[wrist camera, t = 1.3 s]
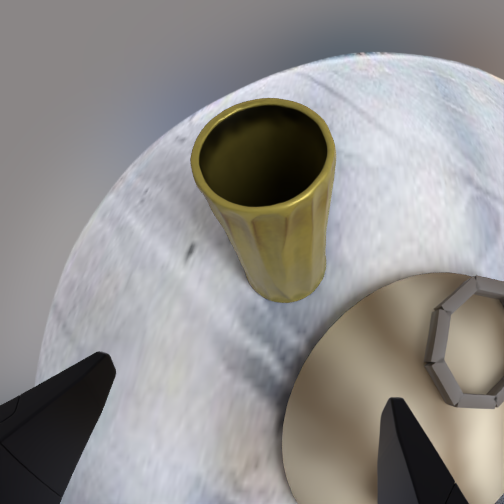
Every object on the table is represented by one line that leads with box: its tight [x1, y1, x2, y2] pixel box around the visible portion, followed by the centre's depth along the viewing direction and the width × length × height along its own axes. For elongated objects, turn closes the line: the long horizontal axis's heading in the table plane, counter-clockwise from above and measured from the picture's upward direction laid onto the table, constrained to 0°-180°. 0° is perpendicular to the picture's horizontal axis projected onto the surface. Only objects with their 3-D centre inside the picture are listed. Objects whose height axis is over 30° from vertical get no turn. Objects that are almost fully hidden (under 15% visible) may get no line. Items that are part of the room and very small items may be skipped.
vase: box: [190, 98, 336, 303], centre depth 18 cm, size 6×6×14 cm
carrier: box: [282, 273, 504, 504], centre depth 17 cm, size 23×23×3 cm
